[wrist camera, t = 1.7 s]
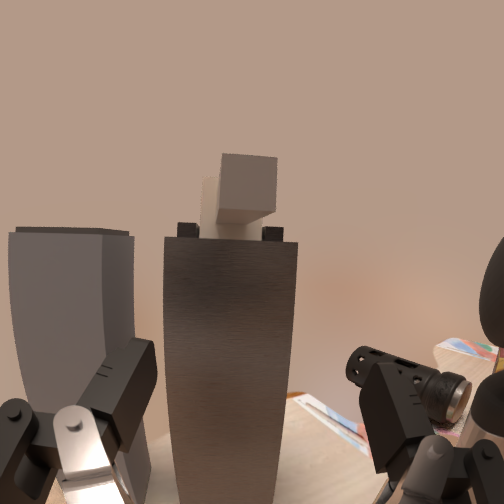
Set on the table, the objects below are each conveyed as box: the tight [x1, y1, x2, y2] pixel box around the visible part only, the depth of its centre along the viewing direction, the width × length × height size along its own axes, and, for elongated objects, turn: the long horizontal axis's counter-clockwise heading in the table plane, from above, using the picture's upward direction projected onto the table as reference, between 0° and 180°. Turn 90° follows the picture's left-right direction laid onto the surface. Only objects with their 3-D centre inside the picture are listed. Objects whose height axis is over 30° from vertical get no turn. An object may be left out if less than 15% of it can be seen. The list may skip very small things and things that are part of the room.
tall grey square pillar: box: [8, 227, 151, 504], centre depth 25 cm, size 10×10×32 cm
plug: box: [199, 153, 277, 241], centre depth 22 cm, size 5×18×5 cm, turn 8°
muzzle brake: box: [346, 346, 472, 423], centre depth 50 cm, size 10×28×10 cm, turn 28°
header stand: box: [163, 222, 298, 504], centre depth 27 cm, size 10×10×33 cm
